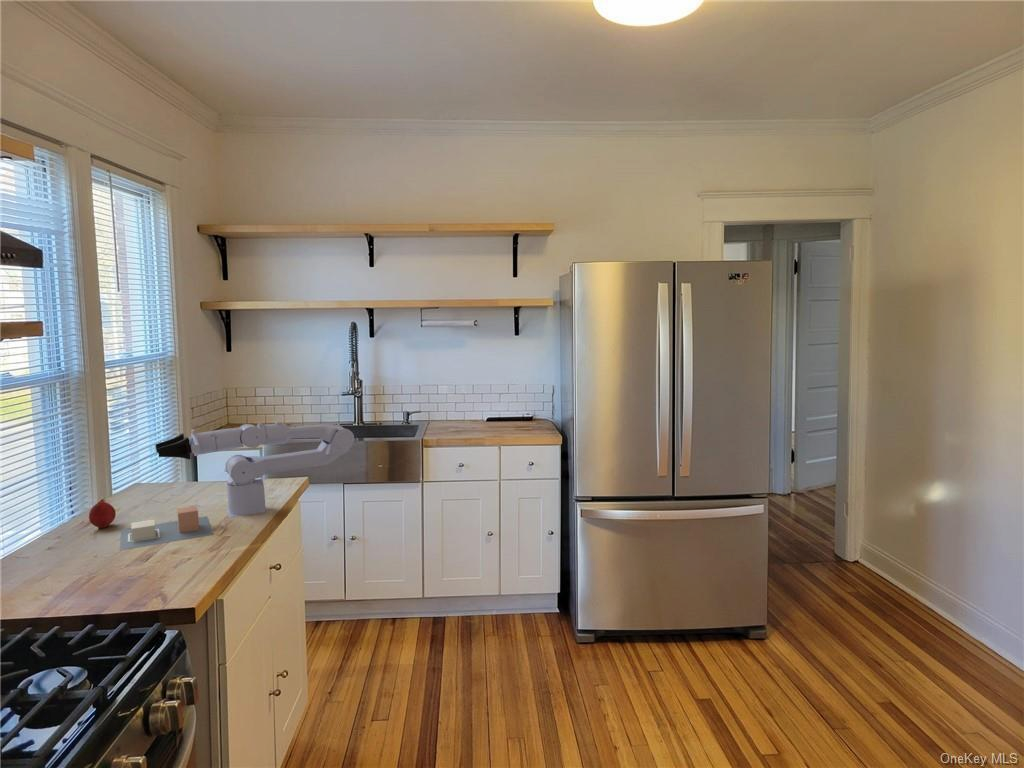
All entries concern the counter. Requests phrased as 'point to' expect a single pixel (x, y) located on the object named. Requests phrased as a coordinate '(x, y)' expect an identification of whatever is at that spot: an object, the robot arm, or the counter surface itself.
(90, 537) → the counter surface
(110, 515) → the onion
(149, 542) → the board
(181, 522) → the terracotta block
